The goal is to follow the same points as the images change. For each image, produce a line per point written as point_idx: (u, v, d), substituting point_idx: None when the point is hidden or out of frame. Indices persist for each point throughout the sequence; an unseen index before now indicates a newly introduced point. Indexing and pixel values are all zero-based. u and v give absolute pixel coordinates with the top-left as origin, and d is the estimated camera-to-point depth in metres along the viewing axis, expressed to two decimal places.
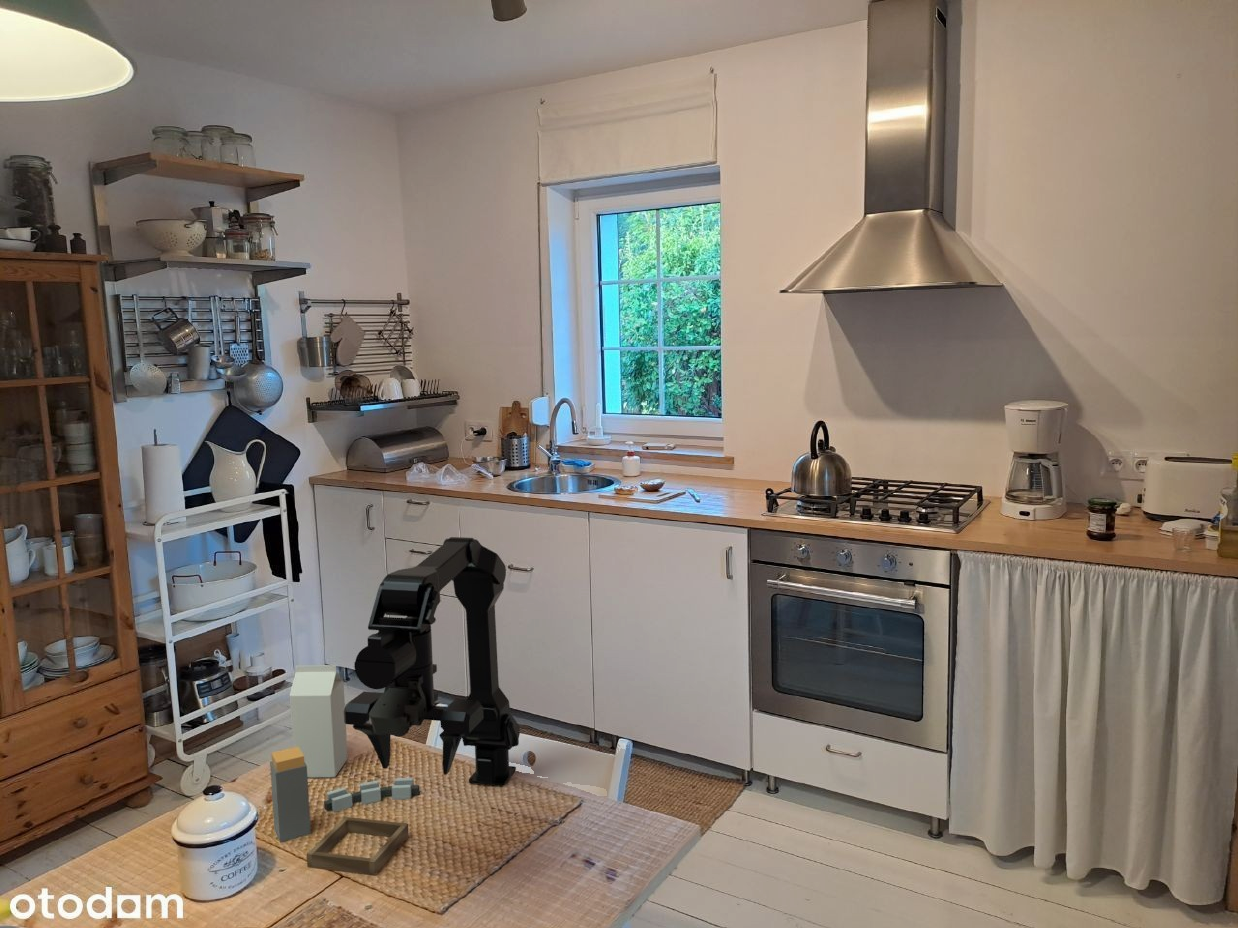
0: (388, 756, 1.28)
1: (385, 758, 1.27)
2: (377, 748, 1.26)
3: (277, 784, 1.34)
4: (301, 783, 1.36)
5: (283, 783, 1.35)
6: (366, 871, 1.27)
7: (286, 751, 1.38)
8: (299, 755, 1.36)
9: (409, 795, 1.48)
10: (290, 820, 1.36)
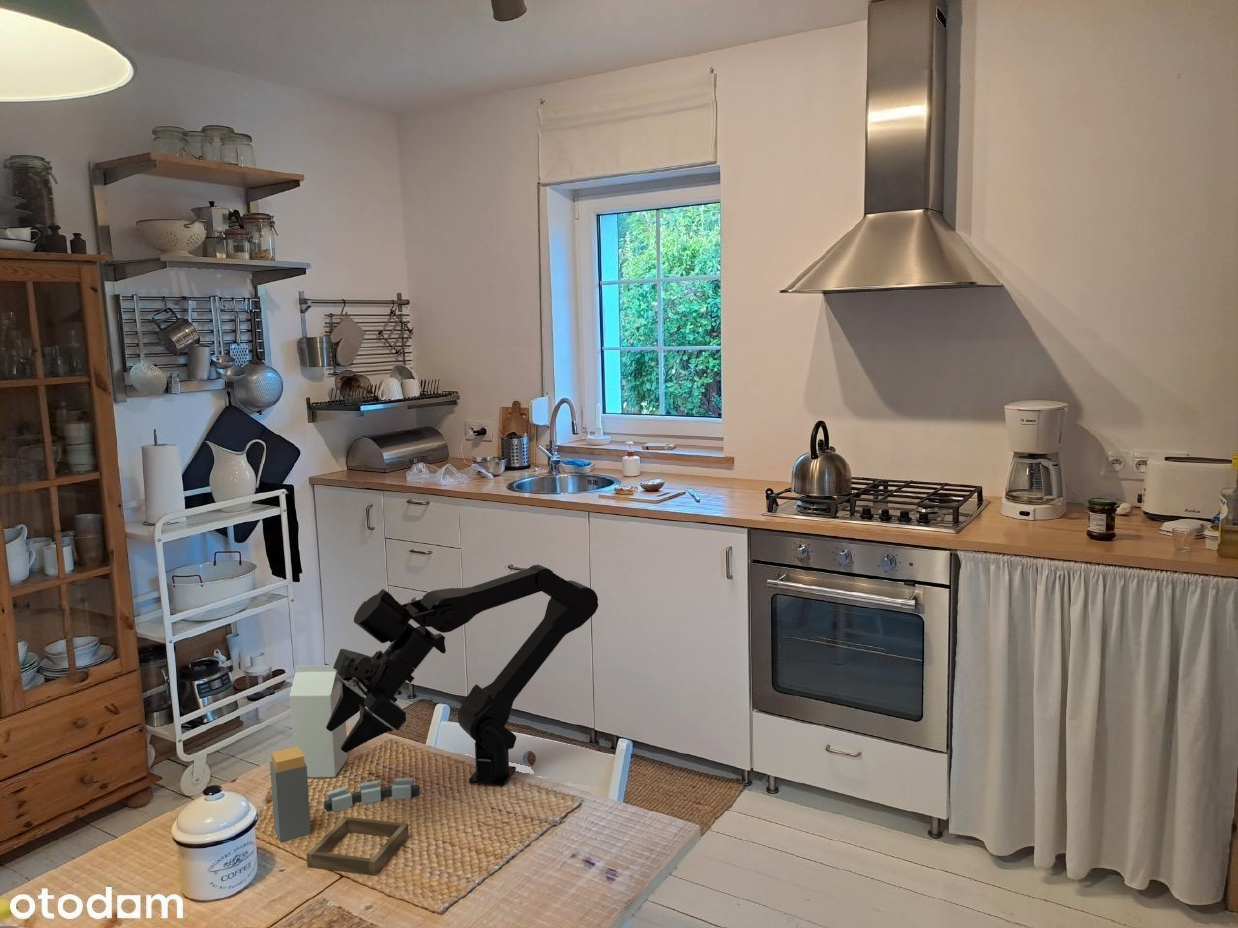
0: (337, 724, 1.45)
1: (333, 720, 1.45)
2: (335, 708, 1.45)
3: (277, 784, 1.34)
4: (301, 783, 1.36)
5: (283, 783, 1.35)
6: (366, 871, 1.27)
7: (286, 751, 1.38)
8: (299, 755, 1.36)
9: (409, 795, 1.48)
10: (290, 820, 1.36)
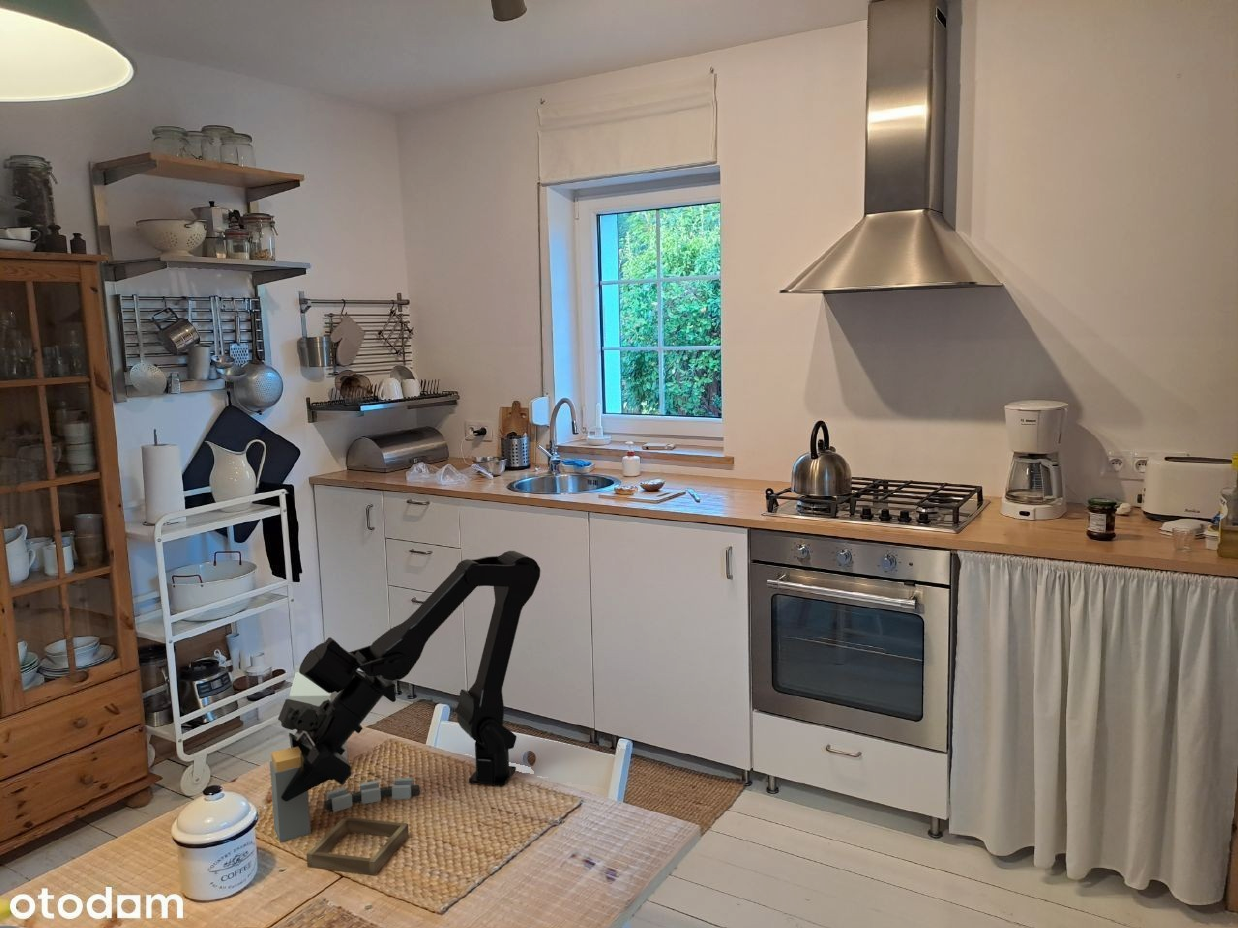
0: None
1: None
2: None
3: (277, 784, 1.34)
4: None
5: (283, 782, 1.35)
6: (366, 871, 1.27)
7: (285, 751, 1.38)
8: (299, 755, 1.36)
9: (409, 795, 1.48)
10: (289, 820, 1.36)
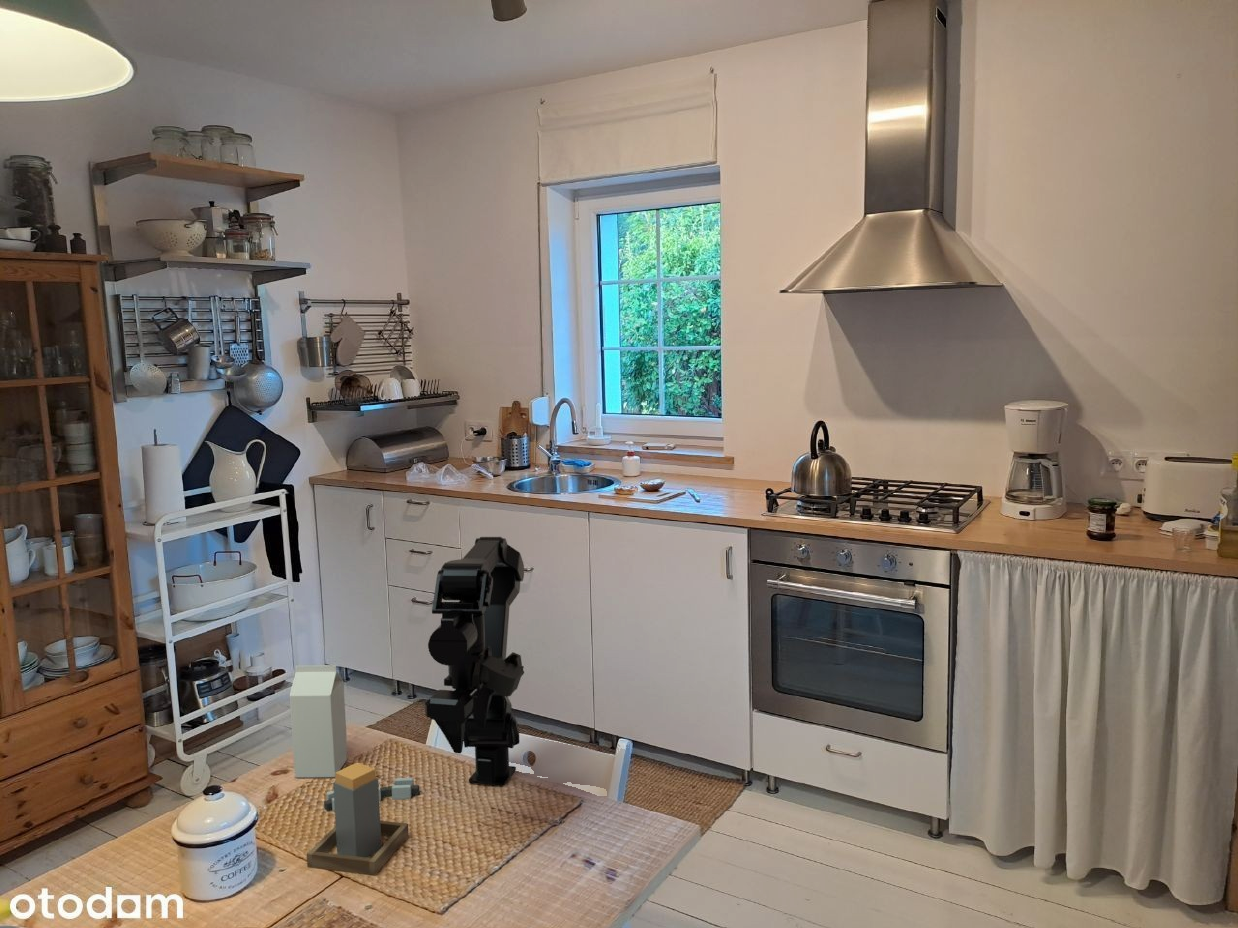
0: None
1: None
2: (462, 734, 1.34)
3: (354, 802, 1.29)
4: (374, 798, 1.31)
5: (359, 800, 1.29)
6: (366, 871, 1.27)
7: (350, 768, 1.32)
8: (369, 769, 1.31)
9: (409, 795, 1.48)
10: (364, 838, 1.30)
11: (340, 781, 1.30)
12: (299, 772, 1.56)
